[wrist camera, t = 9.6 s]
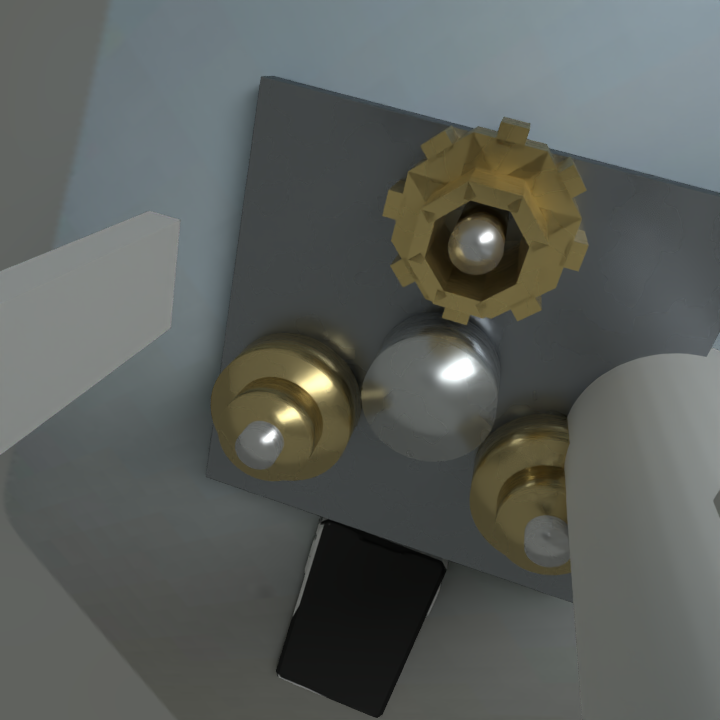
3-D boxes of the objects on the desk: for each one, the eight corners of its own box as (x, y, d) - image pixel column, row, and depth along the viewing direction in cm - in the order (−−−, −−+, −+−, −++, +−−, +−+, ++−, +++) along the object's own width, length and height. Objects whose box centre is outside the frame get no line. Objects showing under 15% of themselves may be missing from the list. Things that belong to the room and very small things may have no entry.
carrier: (273, 75, 30) (204, 79, 24) (769, 205, 27) (838, 248, 21) (216, 462, 40) (157, 537, 34) (576, 585, 37) (585, 689, 31)
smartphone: (272, 675, 46) (320, 515, 39) (278, 661, 47) (326, 502, 40) (382, 721, 45) (451, 565, 38) (385, 705, 46) (454, 551, 39)
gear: (420, 95, 27) (392, 103, 22) (617, 146, 26) (637, 167, 21) (375, 277, 31) (343, 322, 26) (546, 328, 30) (549, 385, 25)
